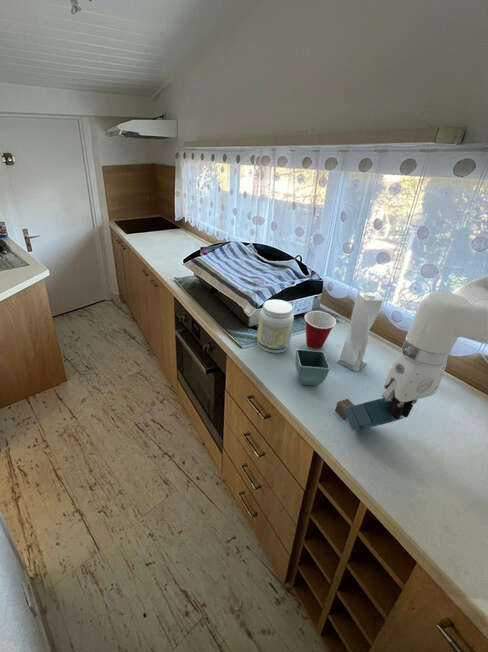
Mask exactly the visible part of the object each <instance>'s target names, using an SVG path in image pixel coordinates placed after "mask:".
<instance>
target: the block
mask: <svg viewBox="0 0 488 652" xmlns="http://www.w3.org/2000/svg"><path fill="white" fill-rule="evenodd" d="M351 406H355V404H354V403H353V402H352V400H350V399H349V398H345V399H342V400H338V401H337V402H336V406H335V409H334V411H335V413H336V414H338V416H340V418H341V419H342V420H343V421H345V420H346V417H345V415H344V413H343V411H342V409H344V408H348V407H351Z"/></svg>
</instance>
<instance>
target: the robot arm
mask: <svg viewBox="0 0 488 652" xmlns="http://www.w3.org/2000/svg"><path fill="white" fill-rule="evenodd" d="M458 338H463V339H466V340H470V341H473V342H477V343H480V344H481V343H482V344H485V345H488V274H486V275H483V276H481V277H478V278H475V279H473V280H471V281H469V282H466V283H464V284H462V285H461V286H459V287H457V288H456V289H455V290H453V291H452V292H448V291H442V290H441V291H440V290H433V291H429V292H427V293H425V294H424V295H423V296H422V297H421V299H420V301H419V305H418V306H417V308H416V312H415V314H414V317H413V319H412V321H411V324H410V326H409V329H408V331H407V334H406V336H405V339H404V341H403V343H402V347H401V348H400V351H401V352H399V354H398V355H397V357H396V358H395V360H394V362H393V364H391V365H392V366H391V367H390V369H389V371H388V374H387V375H386V378H385V381H384V384H383V388H384V390H385V391H383V393H382V394H381V398H384V399H385V400H386V401H389V403H388V405H387V408H386V411H387V412H388V413H389V414H390V415H391V416H393V417H394V418H395V419H396V420H397V421H399V420H398V419H399V418H400V416H401V415H402V416H403V417H404V418H408V417H409V415H410V413H411V411H412V409H413V407H414V405H415V404H416V403H417V402H418V401H419V400H420V399H424V398H427V397H431V396H434V395H435V394H436V392H437V391H438V388H439V386H440V384H441V382H442V379H443V376H444V374H445V371H446V368H447V363H448V359H449V356H450V354H451V352H452V350H453V348H454V346H455V344H456V342H457V340H458ZM407 401H409V402H407ZM404 402H407V403H404Z"/></svg>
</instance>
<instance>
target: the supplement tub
mask: <svg viewBox="0 0 488 652" xmlns="http://www.w3.org/2000/svg"><path fill="white" fill-rule="evenodd" d="M293 310H294V307H293V305H292V304H291V303H290V302H288V301H286V300H282V299H268V300H266V301H264V302H263V304H262V309H261V310H260V311H259V315H258V325H257V332H256V333H257V335H256V343H257V345H258V346H259V348H261V350H263V351H266V352H269V353H272V354H273V353H274V354H278V353H279V354H280V353H283V352H285V351H286V350H288V349H289V346H290V343H291V336H292V331H293V326H294V320H295V317H294V311H293Z"/></svg>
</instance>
